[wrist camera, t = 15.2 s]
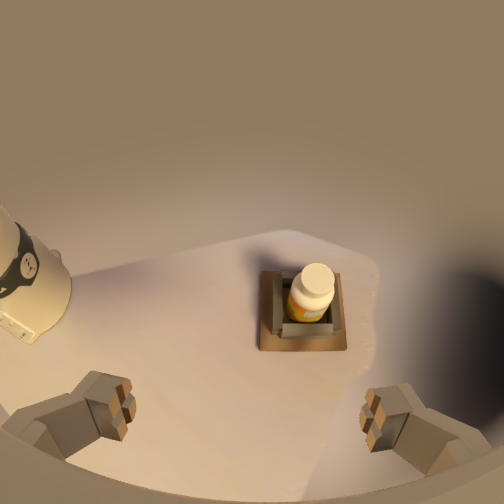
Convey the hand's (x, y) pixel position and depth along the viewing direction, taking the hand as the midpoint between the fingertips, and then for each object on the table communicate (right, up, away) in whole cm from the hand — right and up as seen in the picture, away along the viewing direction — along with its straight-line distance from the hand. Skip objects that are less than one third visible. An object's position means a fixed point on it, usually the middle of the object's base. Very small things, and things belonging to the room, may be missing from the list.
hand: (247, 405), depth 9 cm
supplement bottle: (+8, -3, +32) cm, 33 cm away
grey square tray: (+7, -4, +33) cm, 34 cm away
